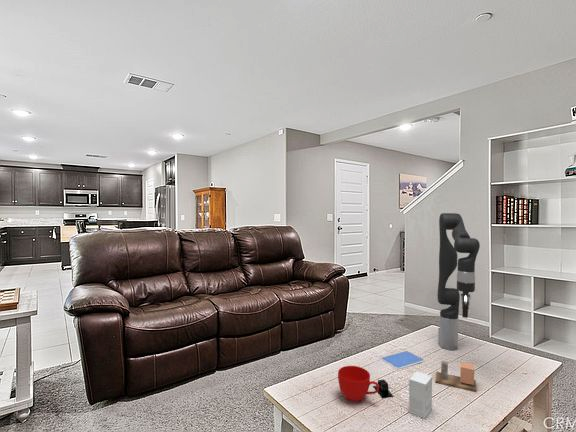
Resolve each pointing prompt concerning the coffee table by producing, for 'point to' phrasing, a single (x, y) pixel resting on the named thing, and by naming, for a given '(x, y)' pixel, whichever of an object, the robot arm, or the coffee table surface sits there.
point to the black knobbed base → (383, 389)
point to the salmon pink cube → (467, 373)
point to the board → (452, 379)
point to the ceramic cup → (355, 382)
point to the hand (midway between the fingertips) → (465, 317)
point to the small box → (420, 394)
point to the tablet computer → (402, 360)
